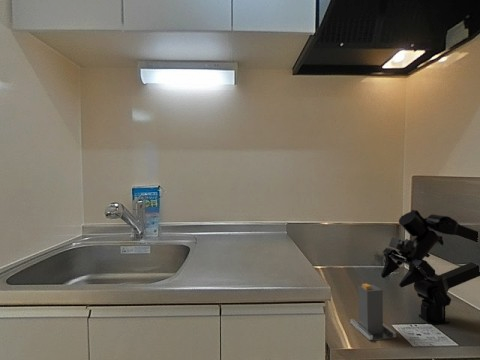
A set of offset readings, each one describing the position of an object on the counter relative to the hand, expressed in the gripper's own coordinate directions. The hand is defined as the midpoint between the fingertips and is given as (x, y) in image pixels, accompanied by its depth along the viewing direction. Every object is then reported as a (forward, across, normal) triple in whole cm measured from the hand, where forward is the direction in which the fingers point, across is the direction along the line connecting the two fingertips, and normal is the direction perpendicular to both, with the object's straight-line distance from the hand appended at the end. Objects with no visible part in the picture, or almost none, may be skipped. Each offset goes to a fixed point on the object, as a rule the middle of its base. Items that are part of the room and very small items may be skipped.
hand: (390, 281), depth 104 cm
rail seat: (+16, +3, +4) cm, 16 cm away
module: (+16, +3, +3) cm, 16 cm away
